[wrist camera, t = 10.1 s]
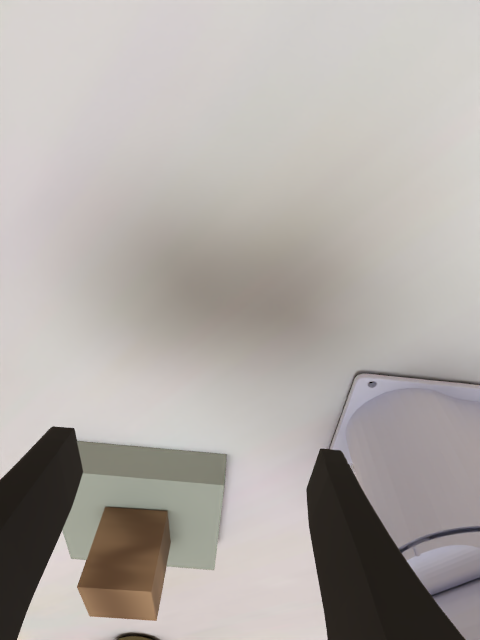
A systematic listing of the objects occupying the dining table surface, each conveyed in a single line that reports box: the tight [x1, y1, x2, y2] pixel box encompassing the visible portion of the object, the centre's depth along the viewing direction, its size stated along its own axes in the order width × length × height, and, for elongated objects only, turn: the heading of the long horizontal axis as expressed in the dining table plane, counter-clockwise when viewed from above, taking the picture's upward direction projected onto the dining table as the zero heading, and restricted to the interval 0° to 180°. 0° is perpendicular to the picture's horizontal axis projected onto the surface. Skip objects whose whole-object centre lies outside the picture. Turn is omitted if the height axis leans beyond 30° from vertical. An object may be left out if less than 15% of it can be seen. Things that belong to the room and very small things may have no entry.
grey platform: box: [62, 441, 227, 570], centre depth 29 cm, size 12×12×3 cm
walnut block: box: [77, 507, 171, 621], centre depth 26 cm, size 4×4×5 cm
